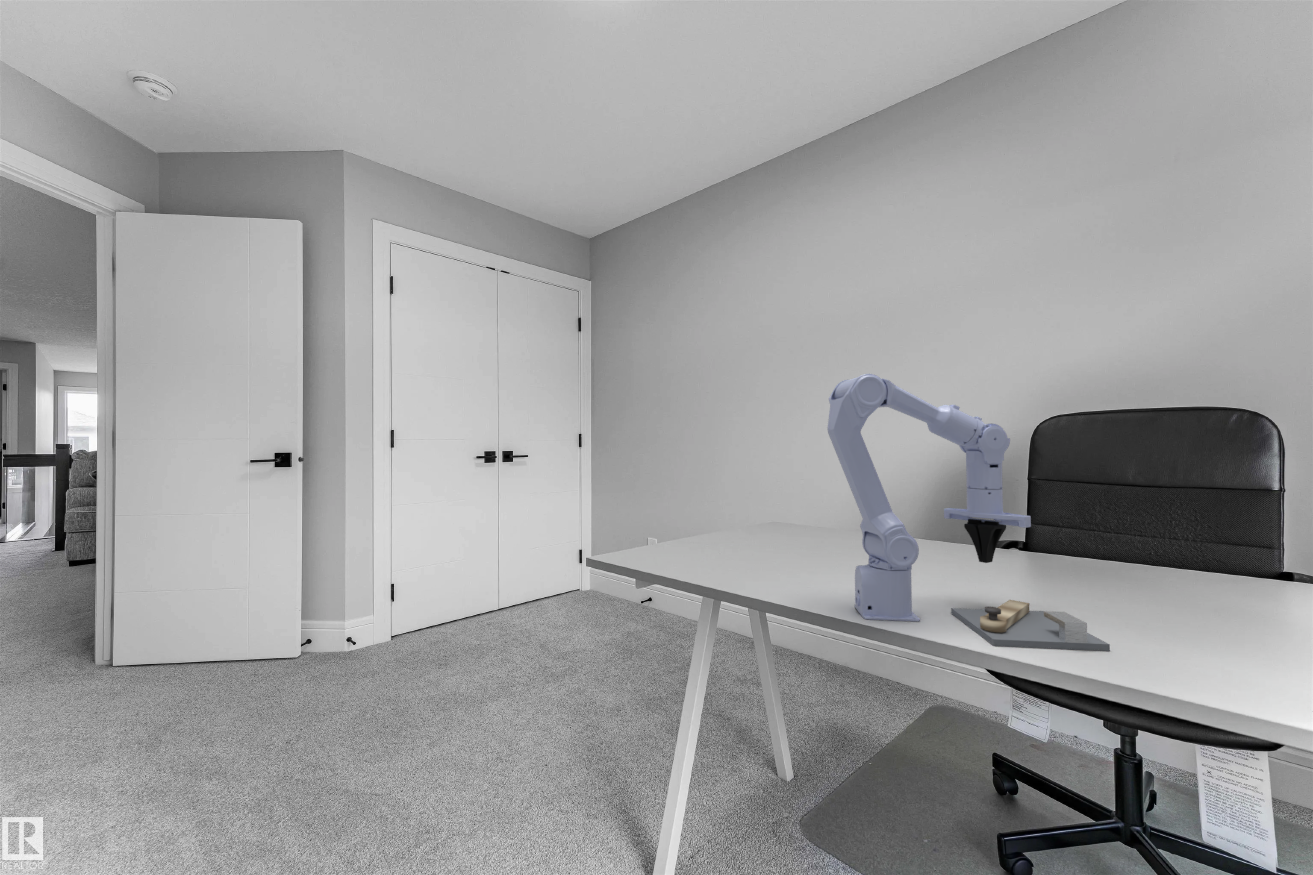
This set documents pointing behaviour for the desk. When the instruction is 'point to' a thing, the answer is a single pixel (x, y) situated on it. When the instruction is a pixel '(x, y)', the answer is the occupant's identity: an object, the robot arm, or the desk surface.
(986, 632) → the base plate
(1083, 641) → the keeper
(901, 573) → the robot arm
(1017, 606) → the tan latch lever
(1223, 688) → the desk surface
